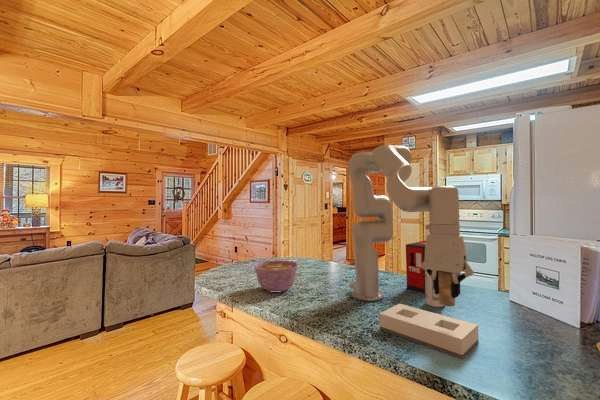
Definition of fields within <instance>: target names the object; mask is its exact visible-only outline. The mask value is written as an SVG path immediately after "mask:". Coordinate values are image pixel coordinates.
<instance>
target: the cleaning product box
mask: <svg viewBox="0 0 600 400" xmlns="http://www.w3.org/2000/svg"><path fill="white" fill-rule="evenodd" d="M425 244H426V240H422V241H416V242H411V243H407V244H405V263H406V264H405V265H406V269H405V270H406V289H407V290H409V291H413V292H417V293H421V294H425V270H424V269H423V268H422V267H421V265H422V263H423V262H424V258H425Z"/></svg>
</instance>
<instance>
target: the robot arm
mask: <svg viewBox="0 0 600 400" xmlns="http://www.w3.org/2000/svg"><path fill="white" fill-rule="evenodd" d="M411 162H412V152H411V151H410V149H409V148H408V147H406V146H404V145H397V144H395V145H393V144H383V145H379V146H377V147H375V148H374V149H373V150H372V151H371V152H370V151H369V152H368V151H365V152H357V153H354V154H353V155H352V156H351V157H350V159H349V161H348V174H349V178H350V181H351V185H352V196H353V198H352V199H353V211H354V214H355V216H356V217H357V218H376V220H375V219H374V220H361V221H357V222H356V223H354V224H353V226H352V227H351V236H352V242H353V247H354V267H355V268H354V269H355V270H354V271H355V272H354V273H355V274H354V276H355V282H353V281H352V282H350V284H349V285H348V287H349V288H350V289H353V290H352V293H351V296H352V297H353V298H354V299H356V300H359V301H363V300H364V302H373V301H374V302H375V301H379V300H381V299H383V298H384V294H383V292H381V291H380V284H379V281H380V279H379V275H380V274H379V255H378V251H377V249H376V248H375V246H374V245H373V244H377V243H378V244H379V243H380V244H381V243H387V242H389V241H391V240H392V239H393V236H394V222H393V219H394V218H393V208H392V202H393V203H394V204H395V206H396V207H397V208H398V209H399V210H401V211H403V212H405V213H417V212H419V213H421V212H425V213H426V212H429V224H428V225H427V224H425V227H424V228H425V230H426V231H429V233H427V234H426V239H425V241H426V244H425V258H424V262H423V263H422V265H421V267H422V268H423V269H424V270H425V271H427V273H428V274H429V275H430V276H431V279H432V280H433V289H434V290H435V294H439V282H438V271H443V272H449V273H452V278H453V283H452V284H451V287H452V297H453V298H455V299H457V298H458V297H460V295H461V282H462V281H463V280H465V279H467V278H468V277H471V276H472V275H474V273H475V272H474V271H473V269H472V268H471V266H470V264H468V260H467V259H468V258H467V250H466V245H465V244H466V243H465V240H464V237H463V236H464V235H462V234H461V230H460V228H461V227H460V205H459V204H460V203H459V199H460V198H459V189H458V187H456V186H453V185H444V186H443V185H441V186H440V185H439V186H407V185H406V184H405V182H406V181H407V180H408V179H409V178H410V176H411V174H412V172H413V170H412V166H411ZM367 174H383V175H384V176H385V177H386V179H387V182H386V189H387V191H386V192H387V195H388V196H387V195H383V194H375V193H374V184H373V182H372V180H371V179H370V177H369V176H368V175H367ZM388 197H389V198H388ZM390 200H392V202H391V201H390ZM463 271H464V273H461V272H463Z"/></svg>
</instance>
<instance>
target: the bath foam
mask: <svg viewBox="0 0 600 400" xmlns="http://www.w3.org/2000/svg"><path fill="white" fill-rule="evenodd" d="M424 297H425V304H426V305H427V306H430V307H433V308H434V307H435V308H444V307H445V306H443V305H441V304H439V294H435V290H434V289H433V280H432V279H431V276H430V275H429V274H428V273H427V271H425V296H424Z"/></svg>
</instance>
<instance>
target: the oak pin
mask: <svg viewBox="0 0 600 400" xmlns="http://www.w3.org/2000/svg"><path fill="white" fill-rule="evenodd" d="M438 282H439V304H441V305H443V306H444V307H455V306H456V298H453V297H452V287H451V284H452V283H453V278H452V273H449V272H443V271H438Z"/></svg>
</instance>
